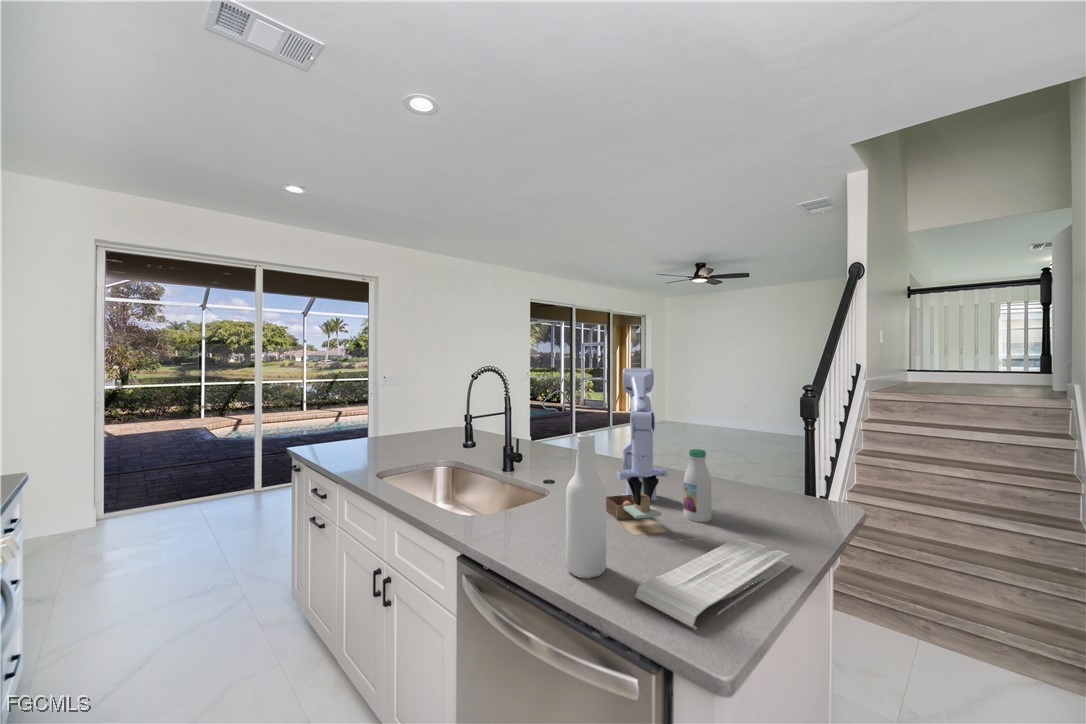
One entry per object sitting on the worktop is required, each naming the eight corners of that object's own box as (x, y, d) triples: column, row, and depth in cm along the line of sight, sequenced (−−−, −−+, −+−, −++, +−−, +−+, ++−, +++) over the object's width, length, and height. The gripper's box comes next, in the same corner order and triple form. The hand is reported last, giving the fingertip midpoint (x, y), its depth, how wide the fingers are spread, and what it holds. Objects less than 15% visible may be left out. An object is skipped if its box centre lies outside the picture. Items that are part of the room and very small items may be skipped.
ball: (629, 508, 137) (629, 499, 137) (634, 511, 134) (634, 502, 134) (620, 509, 136) (620, 499, 136) (625, 512, 133) (625, 502, 133)
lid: (647, 506, 127) (647, 489, 127) (661, 515, 120) (661, 498, 120) (623, 508, 125) (623, 492, 125) (636, 518, 118) (636, 500, 118)
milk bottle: (707, 514, 133) (707, 448, 133) (714, 523, 125) (714, 453, 125) (681, 513, 134) (681, 447, 134) (686, 522, 126) (686, 452, 126)
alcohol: (580, 557, 104) (580, 429, 104) (613, 568, 98) (613, 433, 98) (558, 571, 97) (558, 434, 97) (591, 583, 92) (591, 439, 91)
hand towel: (793, 550, 100) (692, 614, 75) (793, 567, 100) (692, 637, 75) (740, 533, 109) (634, 585, 85) (740, 548, 109) (634, 605, 85)
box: (631, 508, 139) (631, 494, 139) (645, 517, 130) (645, 503, 130) (604, 510, 136) (604, 496, 136) (617, 520, 128) (617, 505, 127)
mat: (649, 519, 129) (649, 518, 129) (667, 532, 119) (667, 531, 119) (617, 522, 126) (617, 521, 126) (634, 536, 116) (634, 535, 116)
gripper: (624, 459, 117) (624, 510, 117) (673, 456, 120) (673, 505, 121) (613, 453, 123) (613, 502, 123) (659, 451, 127) (659, 498, 127)
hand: (642, 503), depth 122 cm, fingers closed on lid, 2 cm apart
